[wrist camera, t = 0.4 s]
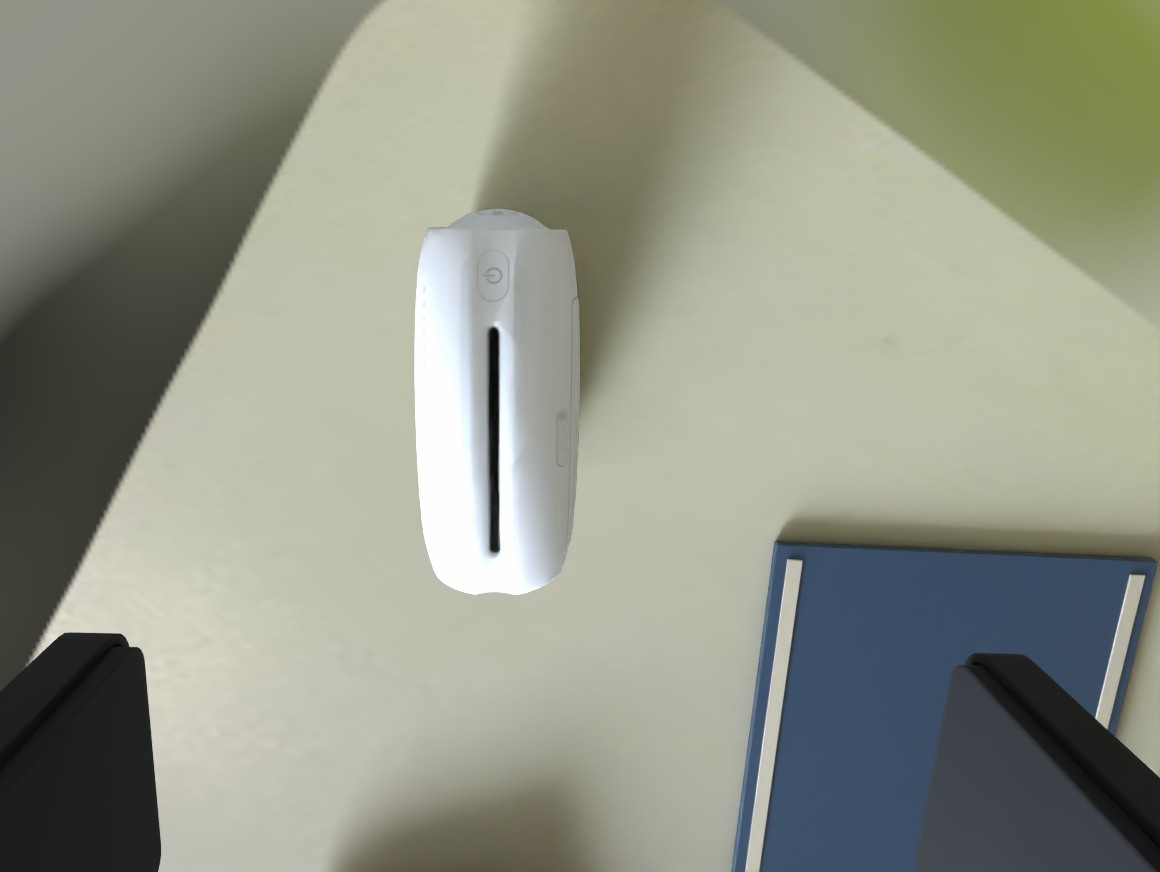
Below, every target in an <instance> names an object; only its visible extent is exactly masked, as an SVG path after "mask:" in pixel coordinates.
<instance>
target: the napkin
mask: <svg viewBox="0 0 1160 872" xmlns="http://www.w3.org/2000/svg"><path fill="white" fill-rule="evenodd" d="M1157 564H1158V561H1156V560H1154V559H1152V558H1136V557H1113V556H1091V555H1069V554H1047V553H1025V552H1002V551H980V550H958V549H936V548H914V547H892V546H869V545H847V544H825V543H803V542H781V541H775V542H774V550H773V557H772V565H771V573H770V580H769V588H768V596H767V603H766V611H765V619H764V626H763V634H762V642H761V649H760V657H759V664H758V672H757V680H756V687H755V695H754V703H753V710H752V718H751V726H750V733H749V741H748V749H747V756H746V764H745V772H744V779H743V787H742V794H741V802H740V810H739V817H738V825H737V833H736V840H735V848H734V856H733V863H732V871H731V872H918V871H917V865H916V853H917V846H918V841H919V836H920V831H921V826H922V821H923V815H924V810H925V805H926V800H927V795H928V790H929V785H930V780H931V775H932V770H933V764H934V759H935V754H936V749H937V744H938V739H939V734H940V729H941V724H942V718H943V713H944V708H945V703H946V698H947V693H948V688H949V683H950V678H951V675H952V671H953V670H954V668H955V667H956V666H958V665H964V664H965V661H966V660H967V658H968V657H969V656H970V655H972V654H973V653H1003V654H1024V655H1025V656H1027V657H1029V658H1030V659H1031V660H1032V661H1033V662H1035V663H1036V664H1037V665H1038V666H1039V667H1040V668H1041V669H1042V670H1043V671H1044V672H1045V673H1046V674H1048V675H1049V676H1050V677H1051V678H1052V679H1053V680H1054V681H1055V682H1056V683H1057V684H1058V685H1060V686H1061V687H1062V688H1063V689H1064V690H1065V691H1066V692H1067V693H1068V694H1069V695H1070V696H1071V697H1073V698H1074V699H1075V700H1076V701H1077V702H1078V703H1079V704H1080V705H1081V706H1082V707H1083V708H1084V709H1086V710H1087V711H1088V712H1089V713H1090V714H1091V715H1092V716H1093V717H1094V718H1095V719H1096V720H1097V721H1099V722H1100V723H1101V724H1102V725H1103V726H1104V727H1105V728H1106V729H1107V730H1108V731H1109V732H1111V733H1112V734H1113V735H1114V736H1115V732H1116V728H1117V724H1118V720H1119V716H1120V712H1121V708H1122V704H1123V700H1124V696H1125V692H1126V688H1127V684H1128V680H1129V676H1130V672H1131V668H1132V664H1133V660H1134V656H1135V652H1136V648H1137V644H1138V640H1139V636H1140V632H1141V628H1142V624H1143V620H1144V616H1145V612H1146V608H1147V604H1148V600H1149V596H1150V592H1151V588H1152V584H1153V580H1154V576H1155V572H1156V568H1157Z"/></svg>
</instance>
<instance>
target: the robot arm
mask: <svg viewBox="0 0 1160 872" xmlns="http://www.w3.org/2000/svg"><path fill="white" fill-rule="evenodd" d="M160 858H161V840H160V829H159V818H158V806H157V795H156V784H155V773H154V761H153V750H152V739H151V728H150V717H149V705H148V694H147V683H146V672H145V661H144V656H143V653H142V651H141V649H139V648H138V647H129V644H128V642H127V640H126V638H125V637H124V636H123V635H122V634H112V633H64V634H63V635H61V636H59V637H58V638H57V639H56V640H55V641H54V642H53V643H52V644H51V645H50V646H48V647H47V648H46V649H45V650H44V651H43V652H42V653H41V654H40V655H39V656H38V657H37V658H36V659H35V660H33V661H32V662H31V663H30V664H29V665H28V666H27V667H26V668H25V669H24V670H23V671H22V672H21V673H20V674H19V675H17V676H16V677H15V678H14V679H13V680H12V681H11V682H10V683H9V684H8V685H7V686H6V687H5V688H4V689H3V690H2V691H1V692H0V872H158V869H159V865H160ZM916 865H917V871H918V872H1160V778H1159V777H1158V776H1157V775H1156V774H1155V773H1154V772H1153V771H1152V770H1151V769H1150V768H1148V767H1147V766H1146V765H1145V764H1144V763H1143V762H1142V761H1141V760H1140V759H1139V758H1138V757H1137V756H1135V755H1134V754H1133V753H1132V752H1131V751H1130V750H1129V749H1128V748H1127V747H1126V746H1125V745H1124V744H1122V743H1121V742H1120V741H1119V740H1118V739H1117V738H1116V737H1115V736H1114V735H1113V734H1112V733H1111V732H1109V731H1108V730H1107V729H1106V728H1105V727H1104V726H1103V725H1102V724H1101V723H1100V722H1099V721H1097V720H1096V719H1095V718H1094V717H1093V716H1092V715H1091V714H1090V713H1089V712H1088V711H1087V710H1086V709H1084V708H1083V707H1082V706H1081V705H1080V704H1079V703H1078V702H1077V701H1076V700H1075V699H1074V698H1073V697H1071V696H1070V695H1069V694H1068V693H1067V692H1066V691H1065V690H1064V689H1063V688H1062V687H1061V686H1060V685H1058V684H1057V683H1056V682H1055V681H1054V680H1053V679H1052V678H1051V677H1050V676H1049V675H1048V674H1046V673H1045V672H1044V671H1043V670H1042V669H1041V668H1040V667H1039V666H1038V665H1037V664H1036V663H1035V662H1033V661H1032V660H1031V659H1030V658H1029V657H1027V656H1025V655H1024V654H1003V653H973V654H972V655H970V656H969V657H968V658H967V660H966V661H965V664H964V665H958V666H956V667H955V668H954V670H953V671H952V675H951V678H950V683H949V688H948V693H947V698H946V703H945V708H944V713H943V718H942V724H941V729H940V734H939V739H938V744H937V749H936V754H935V759H934V764H933V770H932V775H931V780H930V785H929V790H928V795H927V800H926V805H925V810H924V815H923V821H922V826H921V831H920V836H919V841H918V846H917V853H916Z"/></svg>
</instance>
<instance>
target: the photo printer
mask: <svg viewBox="0 0 1160 872" xmlns="http://www.w3.org/2000/svg"><path fill="white" fill-rule="evenodd" d="M416 288H417V292H416V311H415V413H416V441H417V463H418V480H419V494H420V504H421V515H422V524H423V530H424V536H425V541H426V546H427V549H428V553H429V556H430V559H431V563H432V565H433V568H434V571H435V573H436V575H437V576H438V578H439V579H440V580H441V581H442V582H444V583H445V584H447V585H448V586H450V587H452V588H454V589H457V590H460V591H463V592H467V593H471V594H479V593H485V592H505V593H510V594H523V593H526V592H529V591H532V590H535V589H537V588H540V587H543V586H544V585H546V584H548V583H549V582H551V581H552V580H554V578H555V577H556V576H557V575H558V574H559V573H560V571H561V569H562V566H563V563H564V560H565V557H566V553H567V549H568V546H569V543H570V540H571V535H572V528H573V517H574V506H575V497H576V480H577V461H578V439H579V407H580V320H579V301H578V296H577V283H576V272H575V264H574V258H573V253H572V247H571V243H570V239H569V235H568V232H567V231H566V230H564V229H563V230H558V229H548V228H547V227H546V226H544V225H543V224H542V223H540V222H539V221H537V220H536V219H534V218H532V217H530V216H528V215H526V214H524V213H521V212H517V211H513V210H508V209H487V210H480V211H476V212H473V213H470V214H468V215H465V216H463V217H462V218H460V219H458V220H457V221H455V222H454V223H452V224H451V225H450V226H449V227H430V228H428V229H427V231H426V234H425V238H424V242H423V246H422V251H421V255H420V261H419V267H418V275H417V287H416Z"/></svg>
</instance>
